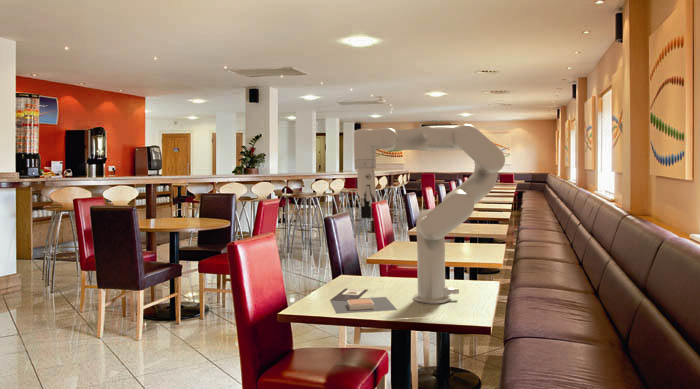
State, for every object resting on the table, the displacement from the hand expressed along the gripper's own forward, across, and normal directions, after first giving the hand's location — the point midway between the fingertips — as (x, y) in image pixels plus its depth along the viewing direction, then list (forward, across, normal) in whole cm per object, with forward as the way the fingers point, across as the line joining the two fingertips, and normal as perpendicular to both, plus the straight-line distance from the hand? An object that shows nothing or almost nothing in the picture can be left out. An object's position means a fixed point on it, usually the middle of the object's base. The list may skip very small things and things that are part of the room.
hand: (366, 217), depth 195 cm
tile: (+28, -6, +4) cm, 29 cm away
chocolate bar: (+30, +8, +5) cm, 31 cm away
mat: (+29, -7, +3) cm, 30 cm away
